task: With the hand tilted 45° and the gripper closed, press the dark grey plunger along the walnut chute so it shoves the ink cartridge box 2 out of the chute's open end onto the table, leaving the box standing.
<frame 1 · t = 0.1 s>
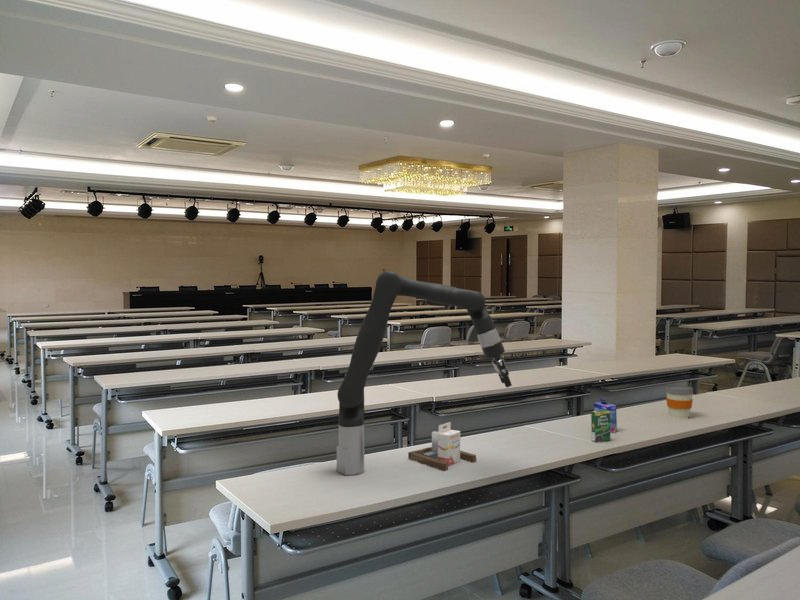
hand: (506, 384, 218), 31 cm above the table, tool tilted 20°, fingers open, 8 cm apart
ink cartridge box 2: (449, 463, 229), on the table
walnut chute: (442, 460, 232), on the table
ink cartridge box: (605, 430, 276), on the table
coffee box: (600, 441, 257), on the table
plunger: (436, 444, 234), point 5 cm above the table, slide at 0.0 cm
reusable coffee cup: (679, 417, 301), on the table
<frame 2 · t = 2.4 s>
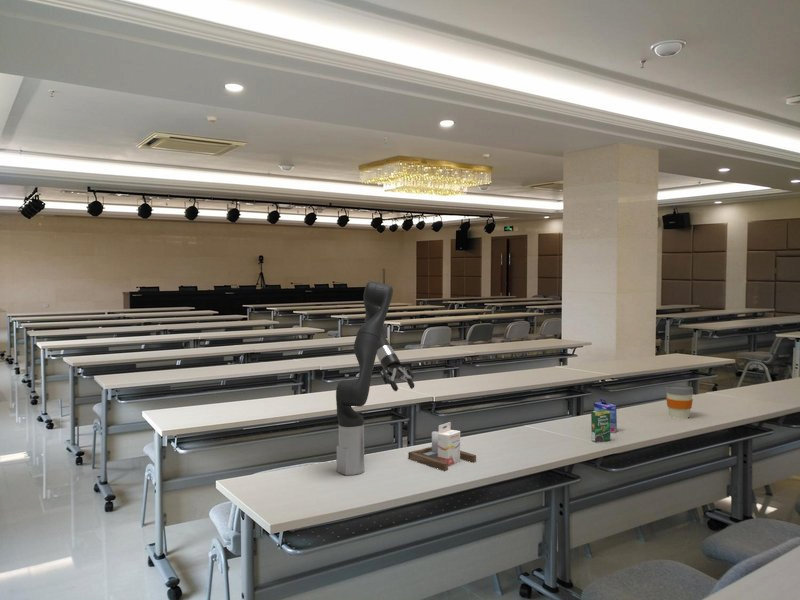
hand: (405, 388, 248), 25 cm above the table, tool tilted 45°, fingers open, 8 cm apart
nothing on the table moved.
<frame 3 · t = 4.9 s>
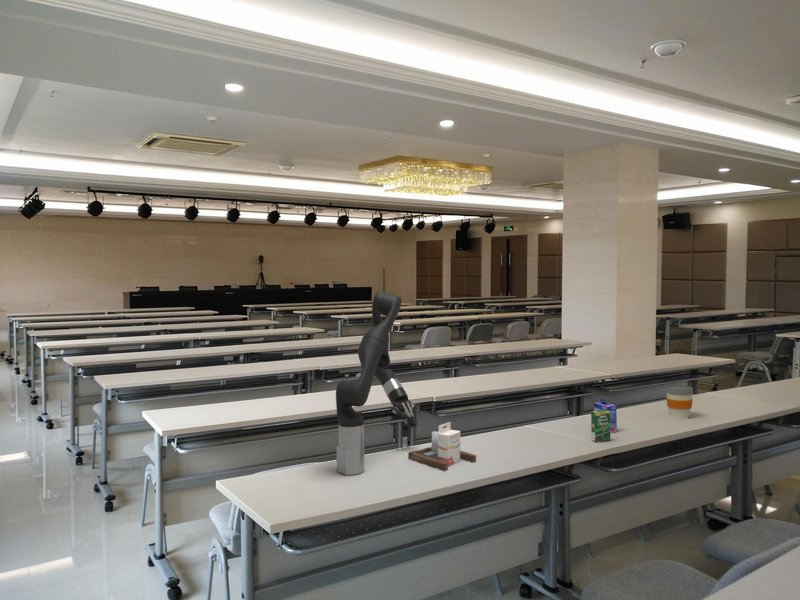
hand: (414, 426, 244), 10 cm above the table, tool tilted 45°, fingers closed
nothing on the table moved.
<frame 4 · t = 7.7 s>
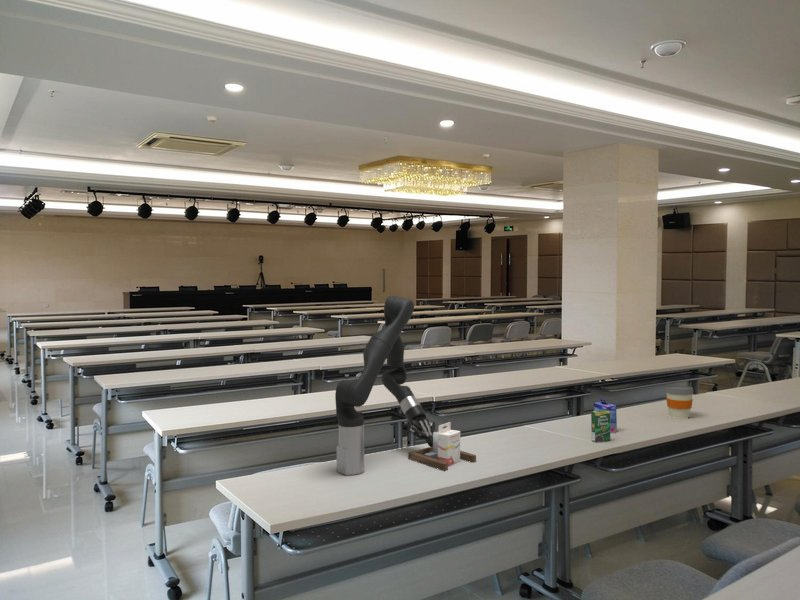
hand: (433, 445, 235), 5 cm above the table, tool tilted 45°, fingers closed
plunger: (437, 445, 234), point 5 cm above the table, slide at 0.7 cm, touching gripper
everything else where it was.
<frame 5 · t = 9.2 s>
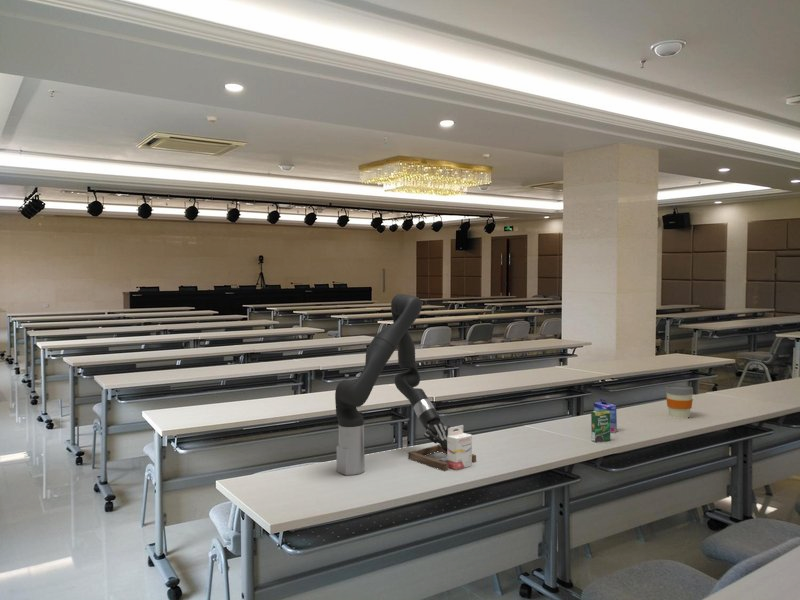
hand: (448, 450, 229), 5 cm above the table, tool tilted 45°, fingers closed
ink cartridge box 2: (459, 467, 224), on the table, touching plunger
plunger: (452, 449, 227), point 5 cm above the table, slide at 9.2 cm, touching gripper, ink cartridge box 2
everything else where it was.
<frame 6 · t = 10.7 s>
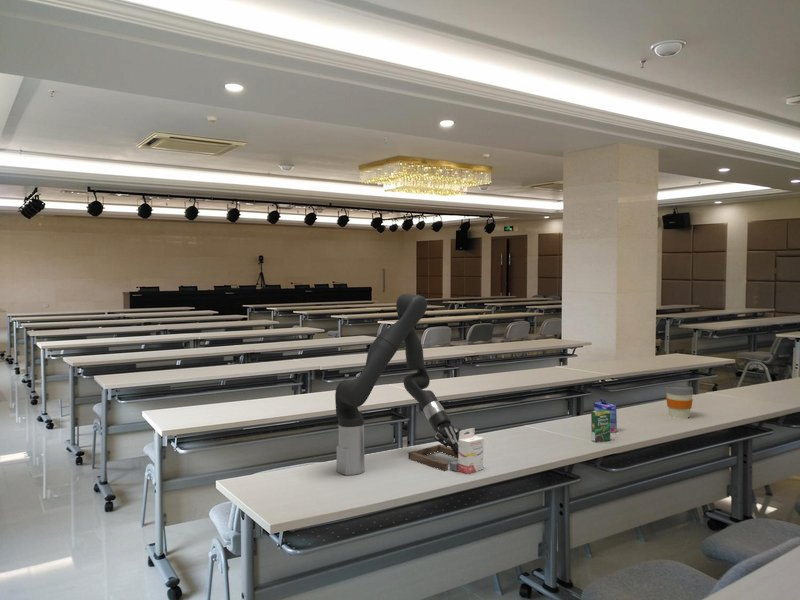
hand: (459, 453, 224), 5 cm above the table, tool tilted 45°, fingers closed
ink cartridge box 2: (471, 470, 219), on the table, touching plunger
plunger: (463, 453, 223), point 5 cm above the table, slide at 14.9 cm, touching gripper, ink cartridge box 2
everything else where it was.
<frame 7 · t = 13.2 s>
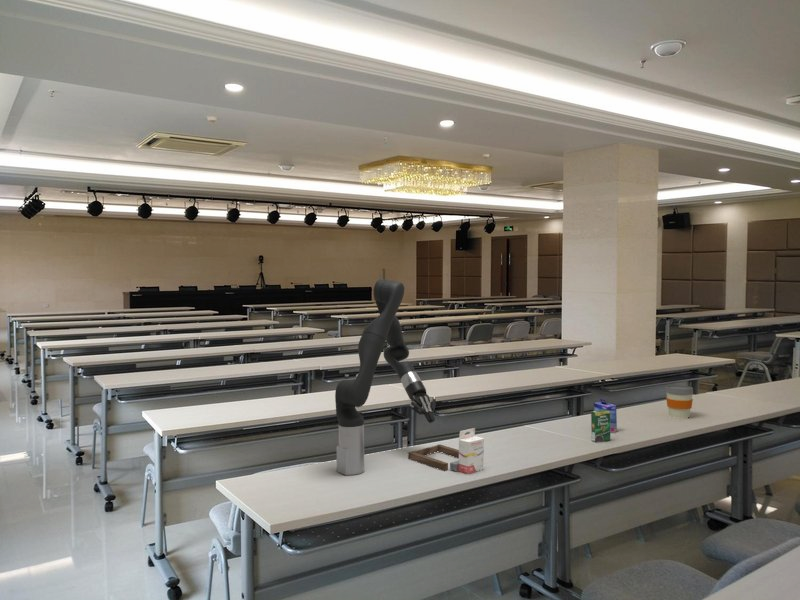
hand: (432, 421, 234), 14 cm above the table, tool tilted 45°, fingers closed
ink cartridge box 2: (471, 471, 219), on the table
plunger: (464, 453, 222), point 5 cm above the table, slide at 15.1 cm
everything else where it was.
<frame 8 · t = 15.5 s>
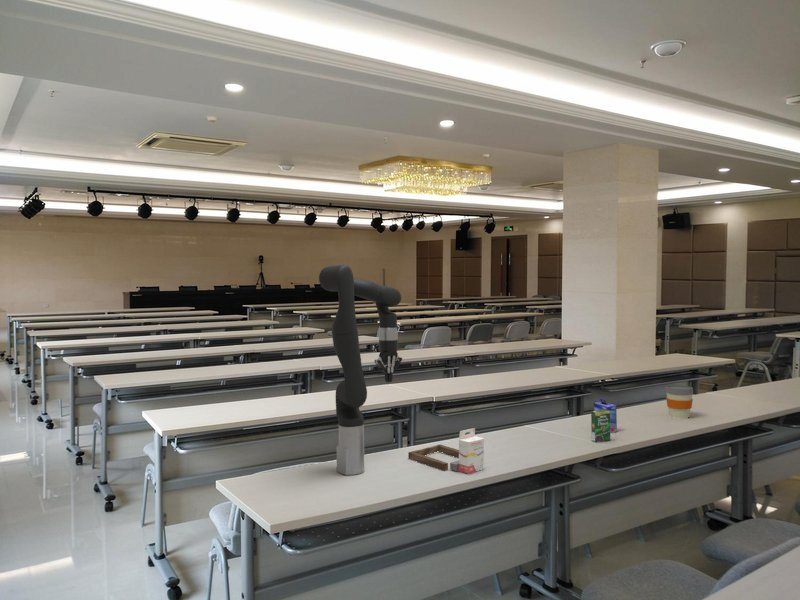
hand: (388, 381, 240), 29 cm above the table, tool pointing down, fingers closed
nothing on the table moved.
at the end: ink cartridge box 2 inside the target area (2.3 cm from its centre), on the table; ink cartridge box 2 tilted 0°; plunger slide at 15.1 cm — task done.
